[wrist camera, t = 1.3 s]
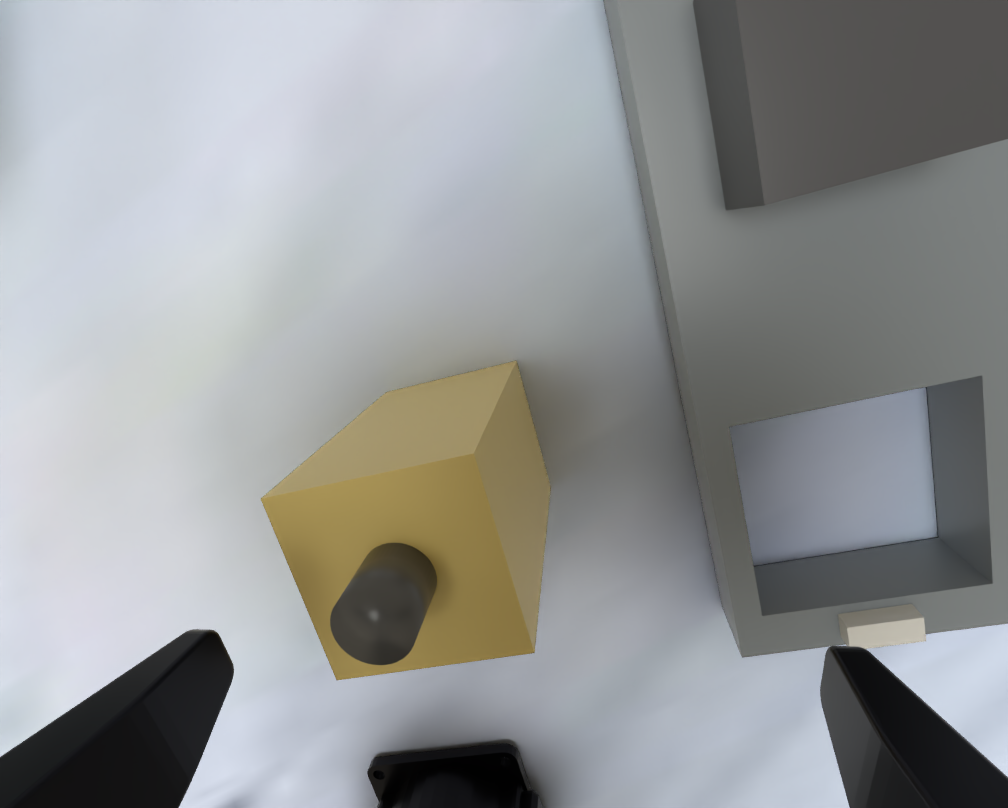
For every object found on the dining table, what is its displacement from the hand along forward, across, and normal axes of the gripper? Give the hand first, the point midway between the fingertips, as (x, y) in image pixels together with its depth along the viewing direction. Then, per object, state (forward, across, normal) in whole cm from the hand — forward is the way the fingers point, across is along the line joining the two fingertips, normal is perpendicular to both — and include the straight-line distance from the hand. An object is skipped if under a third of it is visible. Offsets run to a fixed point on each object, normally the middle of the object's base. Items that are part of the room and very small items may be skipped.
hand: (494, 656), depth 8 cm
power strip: (+12, -8, -1) cm, 14 cm away
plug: (+11, +3, +2) cm, 11 cm away
